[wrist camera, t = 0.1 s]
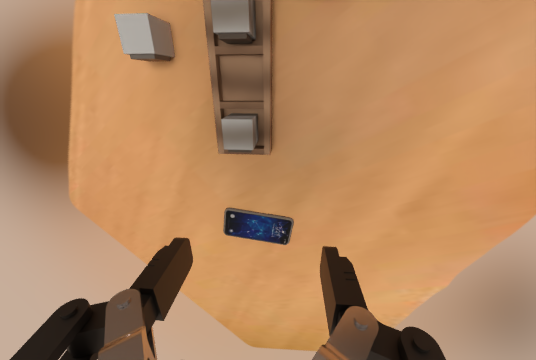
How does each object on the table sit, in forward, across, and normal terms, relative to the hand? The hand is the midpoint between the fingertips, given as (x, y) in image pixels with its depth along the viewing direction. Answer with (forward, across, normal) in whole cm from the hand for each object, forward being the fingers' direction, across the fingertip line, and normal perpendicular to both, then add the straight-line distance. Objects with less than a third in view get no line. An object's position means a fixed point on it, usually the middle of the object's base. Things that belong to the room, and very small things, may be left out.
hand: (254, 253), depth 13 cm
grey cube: (+29, +19, -15) cm, 38 cm away
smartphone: (+30, +4, +20) cm, 36 cm away
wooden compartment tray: (+29, +6, -9) cm, 31 cm away
